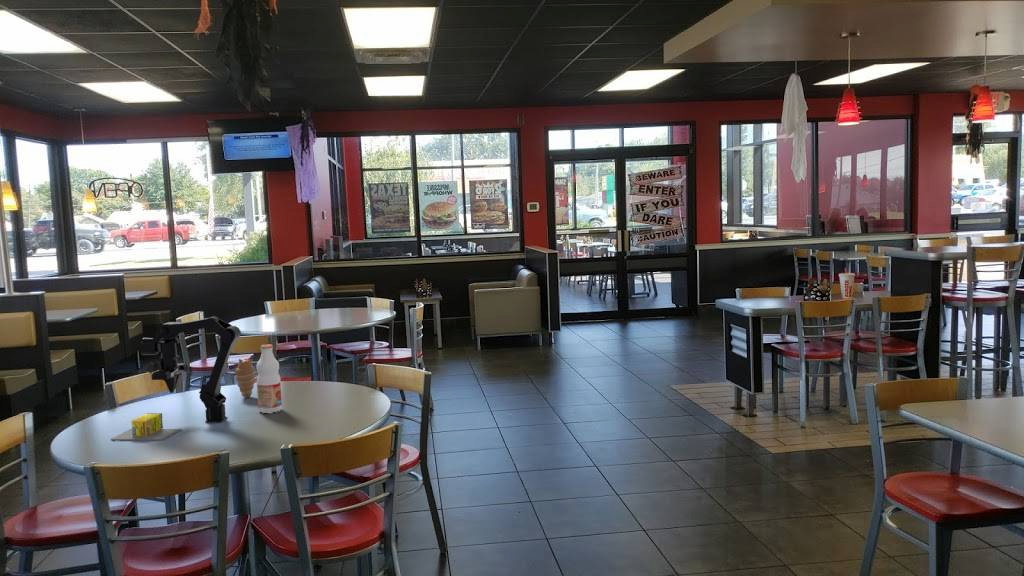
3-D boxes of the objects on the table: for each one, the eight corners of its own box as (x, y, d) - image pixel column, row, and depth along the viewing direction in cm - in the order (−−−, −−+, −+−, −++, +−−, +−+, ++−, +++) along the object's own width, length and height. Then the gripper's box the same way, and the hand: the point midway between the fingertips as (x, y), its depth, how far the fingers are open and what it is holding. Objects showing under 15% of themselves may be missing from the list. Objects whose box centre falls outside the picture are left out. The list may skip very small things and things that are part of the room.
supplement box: (163, 427, 294) (147, 436, 284) (149, 427, 295) (132, 436, 284) (162, 412, 294) (146, 421, 283) (148, 412, 294) (130, 420, 284)
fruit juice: (257, 410, 321) (253, 344, 318) (280, 407, 325) (276, 342, 322) (260, 415, 312) (256, 348, 309) (283, 412, 316) (280, 345, 313)
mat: (180, 430, 293) (180, 428, 293) (163, 440, 280) (163, 439, 280) (130, 430, 294) (130, 428, 294) (110, 440, 281) (110, 439, 281)
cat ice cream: (252, 394, 348) (250, 355, 347) (260, 397, 343) (257, 358, 341) (233, 398, 342) (231, 358, 341) (241, 401, 337) (238, 361, 335)
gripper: (161, 350, 312) (163, 387, 314) (136, 359, 294) (139, 398, 295) (187, 349, 312) (190, 387, 313) (164, 358, 293) (167, 398, 295)
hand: (171, 392), depth 304 cm, fingers closed
